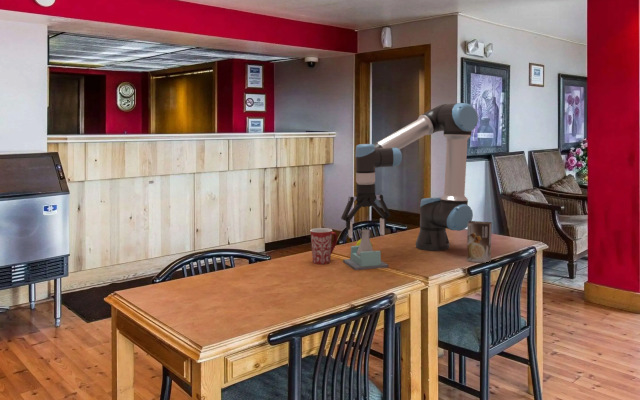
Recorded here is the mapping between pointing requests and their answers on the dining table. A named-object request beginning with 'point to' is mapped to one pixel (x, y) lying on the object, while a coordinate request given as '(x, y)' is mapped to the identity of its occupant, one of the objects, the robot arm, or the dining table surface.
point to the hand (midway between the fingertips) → (366, 236)
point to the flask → (365, 243)
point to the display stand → (365, 260)
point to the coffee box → (479, 241)
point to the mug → (322, 245)
